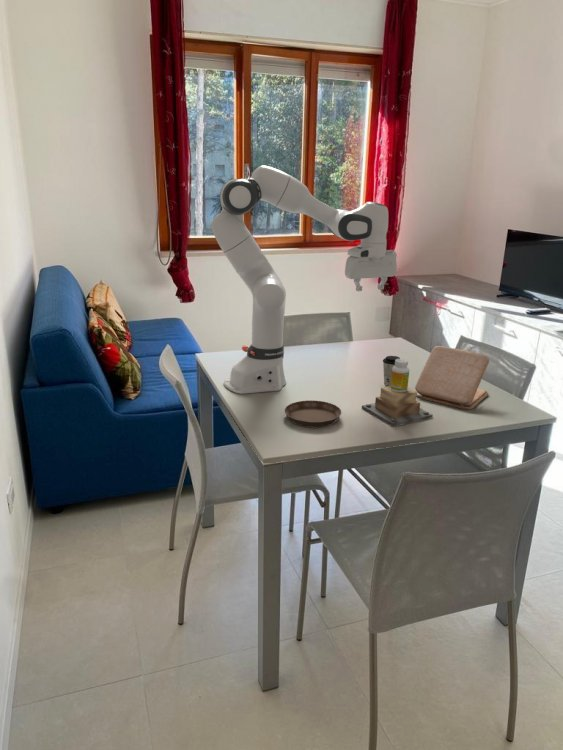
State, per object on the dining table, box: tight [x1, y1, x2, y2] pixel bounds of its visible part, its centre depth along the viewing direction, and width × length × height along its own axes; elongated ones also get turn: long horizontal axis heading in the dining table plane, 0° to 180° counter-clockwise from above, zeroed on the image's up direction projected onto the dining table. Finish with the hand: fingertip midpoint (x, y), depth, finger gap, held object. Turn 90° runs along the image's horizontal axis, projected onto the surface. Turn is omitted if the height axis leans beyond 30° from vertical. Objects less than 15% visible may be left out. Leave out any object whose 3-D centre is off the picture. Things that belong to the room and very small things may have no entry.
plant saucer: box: [284, 399, 342, 428], centre depth 183 cm, size 18×18×3 cm
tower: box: [361, 385, 434, 427], centre depth 188 cm, size 16×16×8 cm
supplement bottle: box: [390, 358, 410, 392], centre depth 185 cm, size 5×5×10 cm
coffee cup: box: [382, 355, 401, 386], centre depth 214 cm, size 7×7×10 cm
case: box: [414, 345, 490, 410], centre depth 203 cm, size 20×21×16 cm
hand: (369, 290), depth 208 cm, fingers open, 8 cm apart
